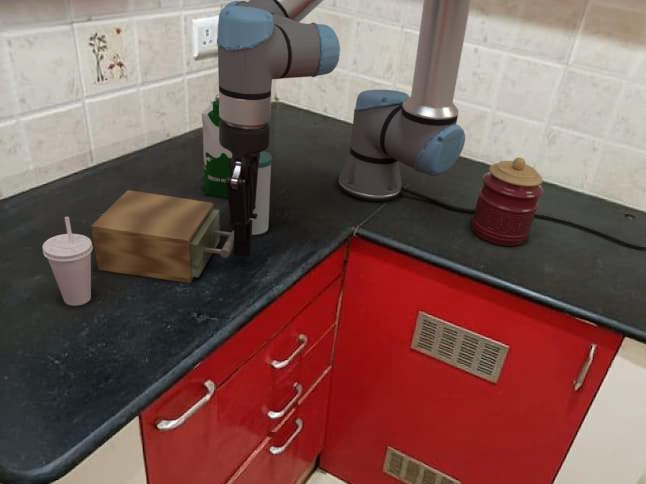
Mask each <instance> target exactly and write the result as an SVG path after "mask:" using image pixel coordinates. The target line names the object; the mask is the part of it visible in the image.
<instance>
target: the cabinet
mask: <svg viewBox="0 0 646 484" xmlns="http://www.w3.org/2000/svg"><path fill="white" fill-rule="evenodd" d="M214 204H215V203H214V202H210V201H203V200H196V199H189V198H184V197H183V198H182V197H177V196H169V195H164V194H156V193H150V192H144V191H137V190H130V189H127V190H126V192H124V194H122V195H121V196H120V197H119V198H118V199H117V200H116V201H115V202H114V203H113V204H112V205H111V206H110V207H109V208H108V209H107V210H106V211H105V212H104V213H103V214H101V216H100V217H99V218H98V219H96V221H94V223H92V225H91V226H90V228H91V234H92V240H93V246H94V247H93V248H94V252H95V253H94V254H95V258H96V260H95V261H96V265H97V270H98V271H104V272H112V273H118V274H124V275H131V276H138V277H145V278H152V279H159V280H166V281H173V282H179V283H187V284H191V283H192V281H193V280H194V278H195V277H192V276H191V258H190V242H191V240H192V239H193V237H194V236H195V234H196V233H197V231H198V230H199V228H200V227H201V225H202V224H203V222H205V220H206V219H207V217H208V216H209V214H210V213H211V211H212V210H213V209H215V207H214V206H215V205H214Z"/></svg>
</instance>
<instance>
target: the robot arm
mask: <svg viewBox="0 0 646 484" xmlns="http://www.w3.org/2000/svg"><path fill="white" fill-rule="evenodd" d="M322 2H324V0H248V1H245V0H234V1H230V2H228V3H227V4H226V5H225V6H224V7H223V8H222V9H221V10H220V12H219V14H218V21H217V22H218V23H217V38H216V45H217V72H218V76H217V77H218V94H215V96H216V97H215V99H216V100H217V101H219V116H220V118H221V120H220V121H219V143H220V145H221V146H222V147H223V148H225V149H227V150H229V151H230V152H231V153H232V158H230V159H229V170H230V177H227V178H226V186H227V189H228V199H227V200H228V209H229V220H228V223H229V224H230V226H233V231H234V247H233V255H234V256H238V257H246V258H250V257H251V255H252V253H253V251H252V248H253V243H252V242H253V235H252V220H250V218H253V219H257V214H254V213H253V210H255V208H256V205H255V204H256V191H257V178H258V166H259V159H260V152H262V151H266V150H267V149H268V148H269V146H270V133H271V132H270V129H271V128H270V127H271V126H270V124H269V123H270V122H271V115H272V113H271V111H272V85H273V80H282V79H295V78H296V79H297V78H309V77H311V78H316V77H319V76H324V75H328V74H331V73H332V72H333V71H335V69H336V68H337V66H338V64H339V61H340V54H341V53H340V52H341V46H340V41H339V38H338V35H337V33H336V32H335V30H334V29H333V28H332V27H331V26H329V25H327V24H325V23H317V22H311V23H304V22H301V21H303V20H304V19H305V18H306V17H307V16H308V15H309V14H310V13H311V12H312V11H313V10H315V9H316V8H317V7H318V6H319V5H320V4H321V3H322ZM471 2H472V0H423V4H422V12H421V18H420V19H421V20H420V26H419V33H418V40H417V48H416V55H415V62H414V71H413V78H412V86H411V93H410V95H409V94H408V93H407V92H404V91H400V90H399V91H398V90H394V89H367V90H363V91H361V92H360V93H359V94H358V95H357V97H356V101H355V107H354V109H353V119H352V127H351V138H350V139H351V140H350V148H349V155H348V156H347V159H346V161H345V163H344V165H343V167H342V169H341V171H340V173H339V176H338V188H339V189H340V190H341V192H343V193H344V194H346V195H347V196H349V197H352V198H353V199H357V200H361V201H365V202H372V203H384V202H385V203H386V202H390V201H393V200H396V199H397V198H399V197H400V196H401V194H402V192H404V193H407V194H410V195H412V196H416V197H418V198H421V199H423V200H426V201H429V202H431V203H433V204H437V205H439V206H441V207H444V208H447V209H450V210H453V211H457V212H463V213H469V214H474V212H475V208H465V207H459V206H456V205H453V204H449V203H446V202H444V201H441V200H439V199H436V198H433V197H431V196H429V195H425V194H423V193H420V192H417V191H414V190H413V189H409V188H406V187H404V186H403V184H402V183H403V182H402V176H401V170H400V163H401V164H403V165H405V166H408V167H409V168H412V169H413V170H415V171H416V172H417V173H422V174H424V175H426V176H429V177H437V176H440V175H442V174H445V173H446V172H447V171H448V170H450V169H451V168H452V167H453V165H454V164H455V163H456V162H457V160H458V159H459V157H460V156H461V154H462V151H463V150H464V147H465V142H466V132H465V130H464V128H463V127H462V126H461V125H459V124H457V123H458V117H459V109H458V107H457V105H456V104H455V103H454V97H455V92H456V87H457V82H458V81H457V80H458V77H459V76H458V75H459V70H460V65H461V64H460V63H461V59H462V53H463V48H464V41H465V36H466V31H467V26H468V20H469V15H470V10H471ZM538 214H539V213H537V214H535V215H534V218H538V219H539V218H540V219H545V220H550V221H553V222H559V223H562V224H566V225H569V226H572V227H575V228H578V229H582V230H584V231H587V232H590V233H593V234H595V235H598V236H601V237H604V238H606V239H609V240H611V241H613V242H616V243H618V244H621V245H624V246H627V247H630V248H633V249H639V250H646V247H641V246H637V245H638V244H637V245H633V244H634V243H633V244H630V243H631V242H629V243H627V242H628V241H626V242H624V241H625V240H623V241H621V240H622V239H621V240H619V239H620V238H618V239H616V238H617V237H616V238H614V237H615V236H614V237H611V236H612V235H611V236H609V235H610V234H609V235H607V234H608V233H606V234H604V233H605V232H604V233H601V232H602V231H601V232H599V231H600V230H598V231H596V230H597V229H595V230H593V229H594V228H592V227H590V228H592V229H590V228H587V227H588V226H587V227H584V226H585V225H584V226H581V225H582V224H581V225H578V224H579V223H578V224H575V223H576V222H575V223H572V222H573V221H571V220H568V221H565V220H566V219H564V220H561V219H562V218H561V219H557V218H558V217H557V218H553V217H554V216H552V217H549V216H550V215H548V216H544V215H545V214H543V215H538ZM569 221H571V222H569Z"/></svg>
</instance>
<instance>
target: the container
mask: <svg viewBox="0 0 646 484" xmlns="http://www.w3.org/2000/svg"><path fill="white" fill-rule="evenodd" d="M272 163H273V155H272V154H271V153H270V152H268V151H266V150H264V151H262V152H260V159H259V166H258V178H257V191H256V204H255V205H256V208H255V210H253V213H254V214H257V219H253V218H250V220H252V236H256V235H257V236H258V235H262V234H265V233H266V232H268V230H269V226H270V225H269V222H270V200H271V199H270V198H271V176H272Z"/></svg>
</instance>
